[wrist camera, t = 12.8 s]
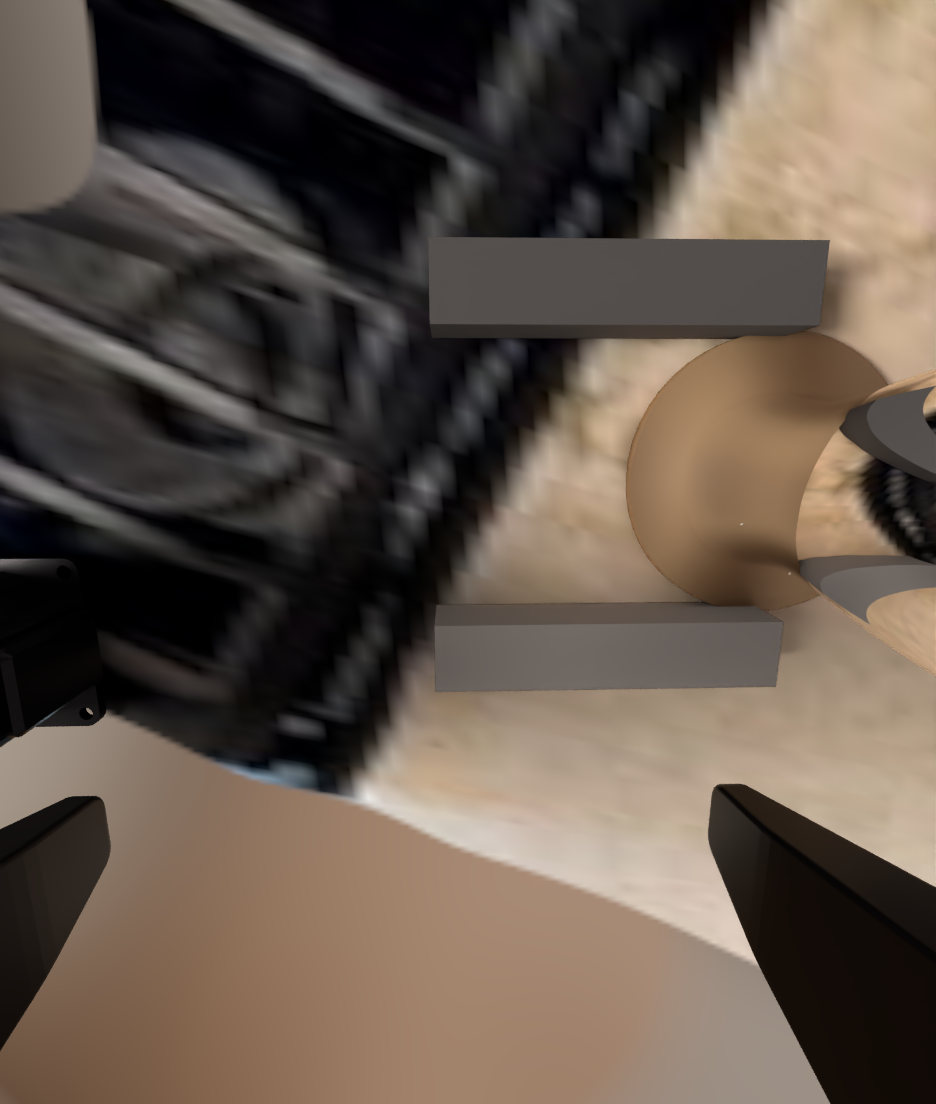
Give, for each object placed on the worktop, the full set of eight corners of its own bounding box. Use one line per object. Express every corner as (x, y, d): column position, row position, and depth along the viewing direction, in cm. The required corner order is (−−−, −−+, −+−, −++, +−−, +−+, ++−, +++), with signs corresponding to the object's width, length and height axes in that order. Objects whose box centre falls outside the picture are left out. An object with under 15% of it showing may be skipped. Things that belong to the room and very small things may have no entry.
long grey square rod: (432, 337, 19) (429, 323, 17) (431, 262, 19) (428, 237, 16) (774, 338, 19) (819, 325, 17) (782, 264, 19) (829, 240, 17)
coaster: (618, 608, 21) (623, 612, 21) (634, 332, 19) (639, 329, 19) (872, 605, 22) (884, 609, 21) (914, 333, 20) (929, 329, 19)
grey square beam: (437, 664, 22) (435, 691, 19) (436, 604, 21) (434, 626, 19) (740, 659, 22) (775, 686, 20) (747, 601, 21) (783, 622, 19)
